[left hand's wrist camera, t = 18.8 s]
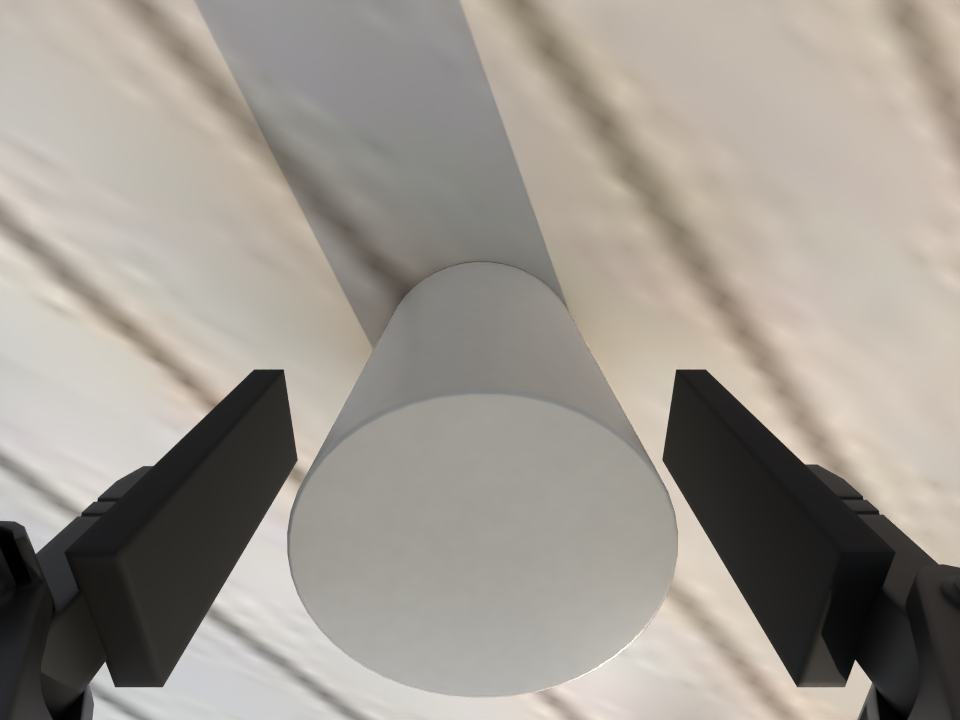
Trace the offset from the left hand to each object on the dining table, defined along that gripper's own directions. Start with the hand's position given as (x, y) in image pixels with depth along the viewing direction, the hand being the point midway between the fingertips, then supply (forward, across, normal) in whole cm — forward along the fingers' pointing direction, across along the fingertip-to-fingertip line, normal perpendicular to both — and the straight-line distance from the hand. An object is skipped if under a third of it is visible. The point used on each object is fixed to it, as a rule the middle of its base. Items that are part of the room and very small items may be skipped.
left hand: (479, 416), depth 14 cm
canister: (+4, 0, 0) cm, 4 cm away
